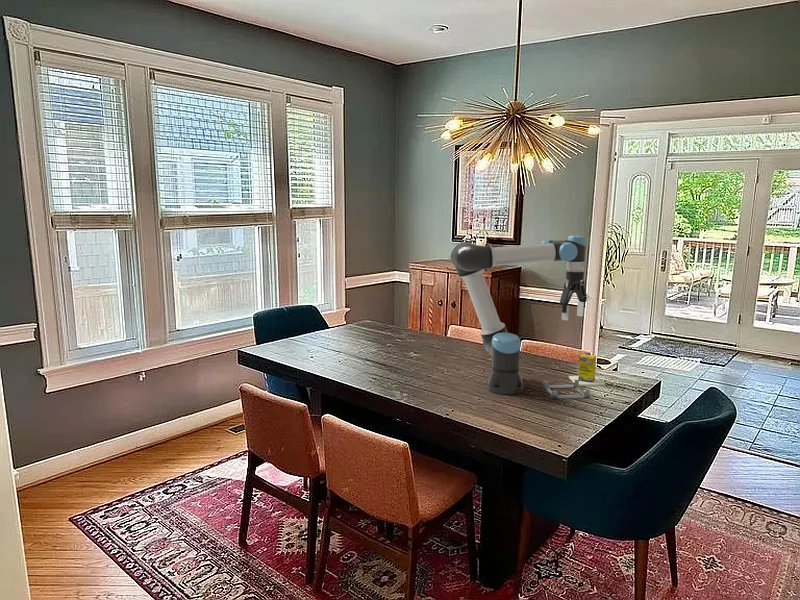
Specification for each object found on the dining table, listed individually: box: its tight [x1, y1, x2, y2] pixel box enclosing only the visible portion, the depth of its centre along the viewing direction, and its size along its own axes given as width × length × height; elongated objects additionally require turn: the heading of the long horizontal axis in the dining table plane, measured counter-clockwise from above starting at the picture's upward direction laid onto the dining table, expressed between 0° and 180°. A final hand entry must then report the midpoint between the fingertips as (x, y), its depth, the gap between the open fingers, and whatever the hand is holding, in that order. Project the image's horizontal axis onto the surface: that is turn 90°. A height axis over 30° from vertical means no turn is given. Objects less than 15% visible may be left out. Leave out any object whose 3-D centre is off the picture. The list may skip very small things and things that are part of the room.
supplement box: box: [578, 353, 597, 382], centre depth 242 cm, size 6×6×11 cm
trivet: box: [568, 375, 606, 387], centre depth 243 cm, size 12×12×1 cm
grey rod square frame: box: [542, 379, 591, 400], centre depth 229 cm, size 15×15×3 cm
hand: (572, 318), depth 246 cm, fingers open, 13 cm apart
